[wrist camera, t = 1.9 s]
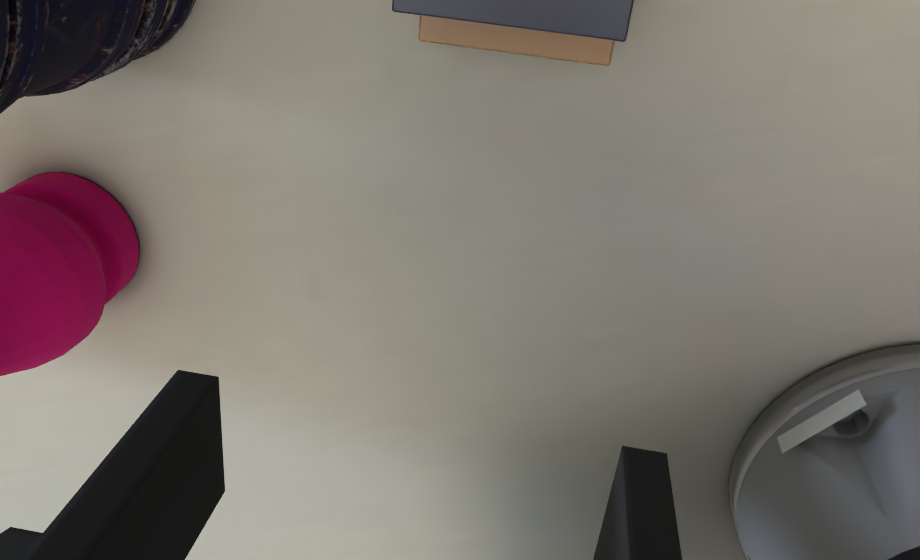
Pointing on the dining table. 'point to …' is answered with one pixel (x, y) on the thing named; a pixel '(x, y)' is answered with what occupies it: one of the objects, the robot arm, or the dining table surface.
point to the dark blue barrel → (78, 40)
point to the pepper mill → (58, 265)
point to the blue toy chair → (525, 26)
